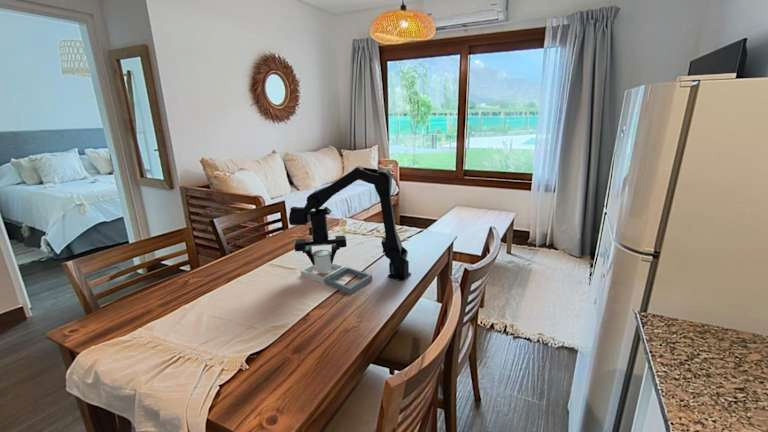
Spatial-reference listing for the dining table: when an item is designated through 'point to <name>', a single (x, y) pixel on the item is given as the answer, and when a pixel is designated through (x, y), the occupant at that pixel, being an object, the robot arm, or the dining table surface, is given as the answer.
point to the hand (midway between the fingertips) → (322, 264)
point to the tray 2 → (347, 289)
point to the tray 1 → (320, 279)
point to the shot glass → (322, 261)
